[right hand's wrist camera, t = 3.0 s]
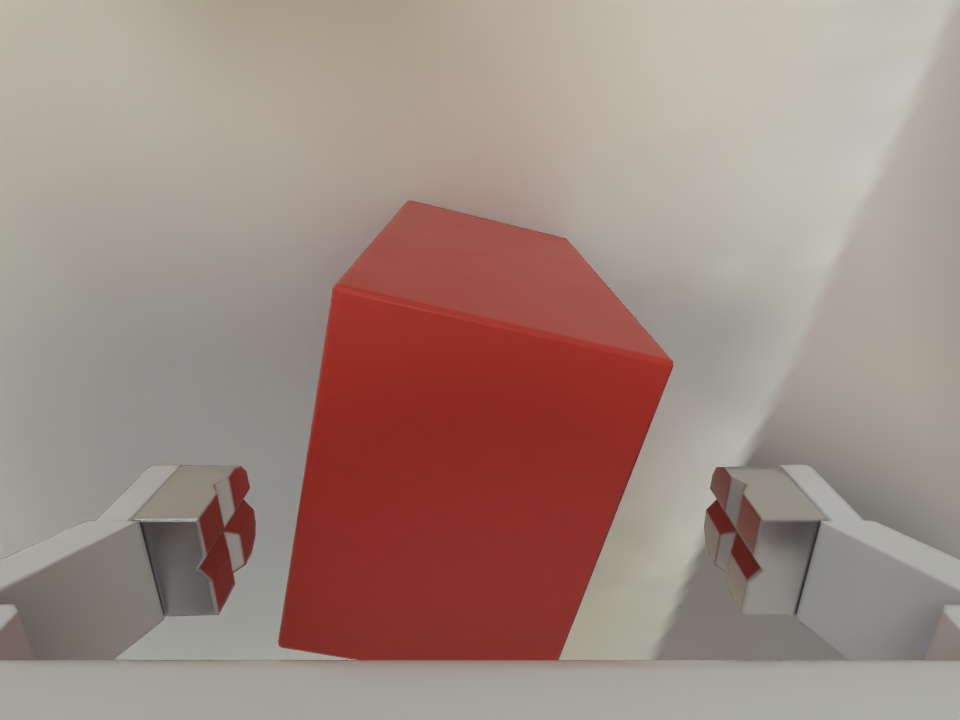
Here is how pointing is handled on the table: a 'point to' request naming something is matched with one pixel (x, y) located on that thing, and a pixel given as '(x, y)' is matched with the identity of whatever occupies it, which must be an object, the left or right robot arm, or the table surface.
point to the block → (464, 444)
